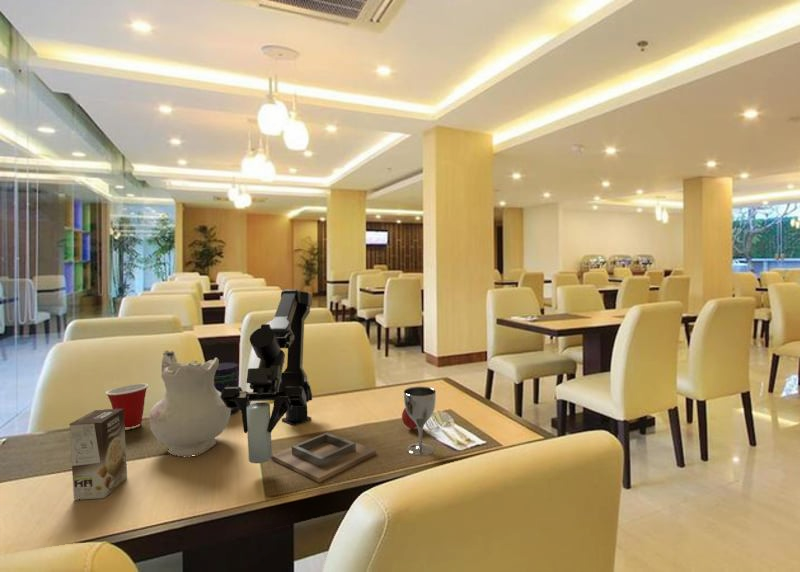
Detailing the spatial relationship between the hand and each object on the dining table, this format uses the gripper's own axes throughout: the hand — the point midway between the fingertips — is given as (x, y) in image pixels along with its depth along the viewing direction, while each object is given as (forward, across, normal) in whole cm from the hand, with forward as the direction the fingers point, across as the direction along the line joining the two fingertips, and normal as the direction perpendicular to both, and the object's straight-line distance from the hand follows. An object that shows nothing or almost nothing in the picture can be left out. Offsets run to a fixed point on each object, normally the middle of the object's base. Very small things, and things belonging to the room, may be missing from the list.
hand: (257, 432), depth 100 cm
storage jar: (-23, -26, +39) cm, 52 cm away
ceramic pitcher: (-5, -24, +20) cm, 32 cm away
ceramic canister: (+4, 0, +6) cm, 7 cm away
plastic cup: (-15, -49, +30) cm, 59 cm away
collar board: (0, +13, +15) cm, 19 cm away
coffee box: (+10, -33, +5) cm, 35 cm away
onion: (-12, +35, +27) cm, 45 cm away
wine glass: (-2, +36, +17) cm, 40 cm away
